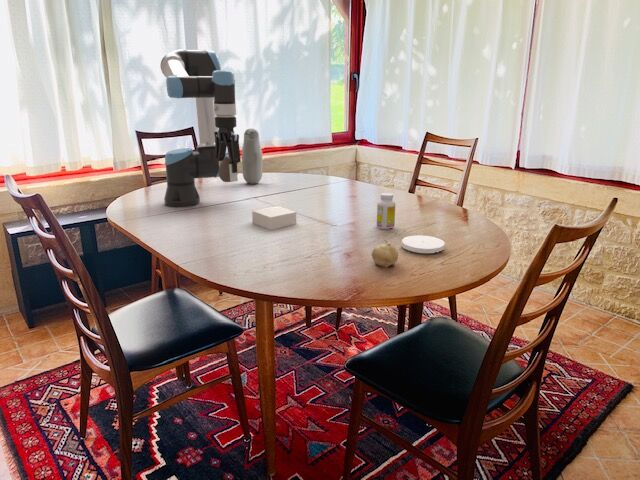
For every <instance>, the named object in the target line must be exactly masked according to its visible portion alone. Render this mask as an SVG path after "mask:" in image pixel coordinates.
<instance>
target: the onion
mask: <svg viewBox="0 0 640 480" xmlns="http://www.w3.org/2000/svg"><path fill="white" fill-rule="evenodd" d="M384 241H385V243H381V244H378V245H377V246H375V247H374V248H373V250H372V252H371V257H372V260H373V262H374V264H375V265H376V264H377V265H376V266H378V265H379V266H378V267H383V266H385V268H389V266H391V265H392V266H393V265H395V264H396V263H397V261H398V260H399V252H398V250H397V249H396V247H395V246H394V245H393V244H392V243H391V242H390V241H387V240H384ZM386 266H388V267H386Z"/></svg>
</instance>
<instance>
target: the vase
mask: <svg viewBox="0 0 640 480" xmlns="http://www.w3.org/2000/svg"><path fill="white" fill-rule="evenodd" d="M229 163H230V158H229V156H228V157H224V159H223V161H222V163H221V164H220V166H219V176H220V177H219V179H220V180H221V182H224V183H231V182H230V169H229ZM237 175H239V174H238V169H237Z"/></svg>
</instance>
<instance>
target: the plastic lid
mask: <svg viewBox="0 0 640 480" xmlns="http://www.w3.org/2000/svg"><path fill="white" fill-rule="evenodd" d="M445 245H446V243H445V241H444V240H442V239H441V238H438V237H434V236H430V235H421V234H419V235H417V234H416V235H409V236H406V237H404V238H402V239H401V247H402V248H403V249H405V250H407V251H409V252H413V253H418V254H435V252H437V253H440V252H439V251H441V252H442V250H443V249H444V250H445ZM444 250H443V251H444Z"/></svg>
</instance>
